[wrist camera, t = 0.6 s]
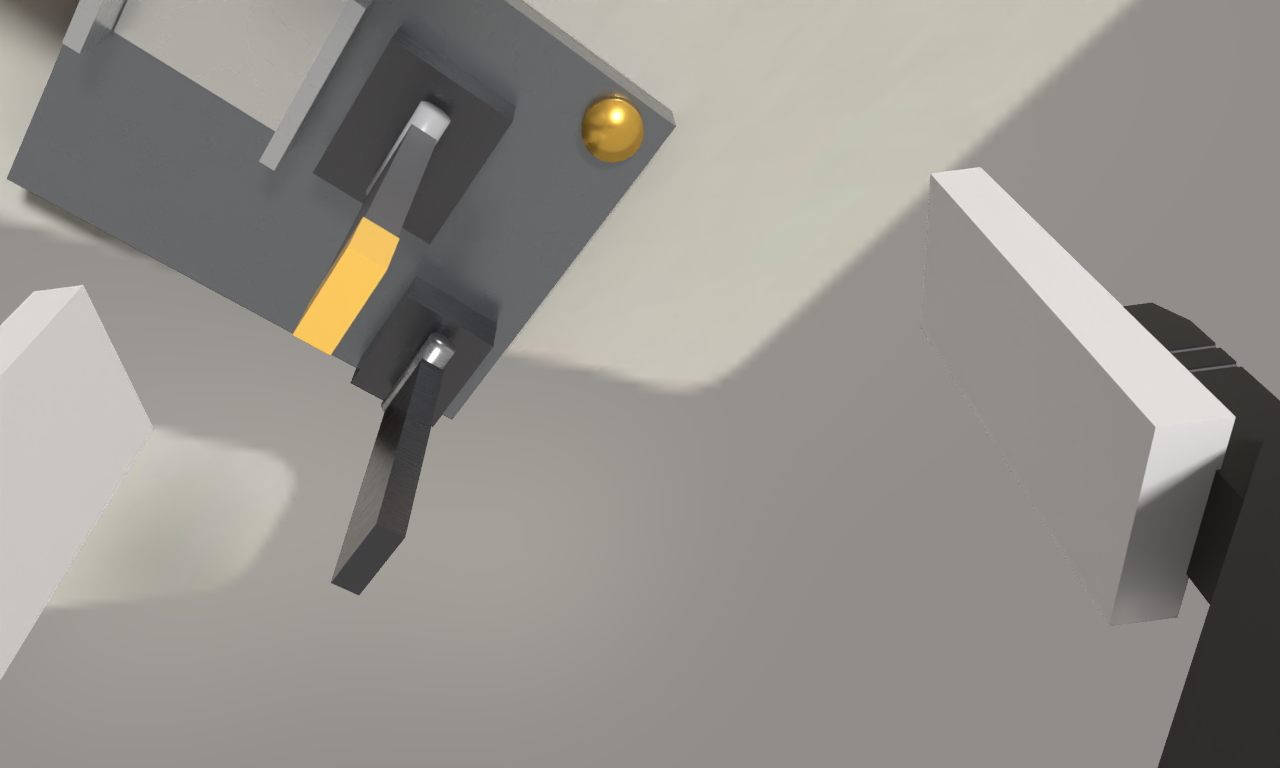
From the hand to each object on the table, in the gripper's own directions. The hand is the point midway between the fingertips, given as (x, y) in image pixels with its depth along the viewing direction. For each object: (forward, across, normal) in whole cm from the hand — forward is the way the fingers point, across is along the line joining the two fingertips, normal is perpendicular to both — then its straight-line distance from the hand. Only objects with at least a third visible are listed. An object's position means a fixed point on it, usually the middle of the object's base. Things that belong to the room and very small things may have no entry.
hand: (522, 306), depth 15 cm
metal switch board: (+26, -9, -5) cm, 27 cm away
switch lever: (+20, -6, -4) cm, 22 cm away
